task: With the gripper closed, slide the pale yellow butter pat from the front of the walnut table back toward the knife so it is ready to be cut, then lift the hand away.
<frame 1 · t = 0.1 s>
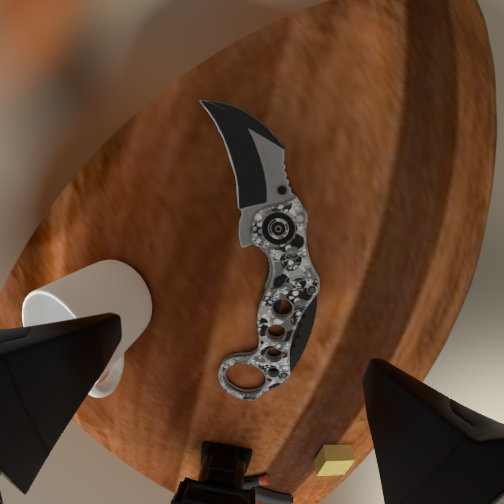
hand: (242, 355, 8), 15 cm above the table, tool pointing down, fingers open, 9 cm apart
knife: (259, 265, 23), on the table
butter: (332, 452, 27), on the table
mug: (122, 313, 25), on the table
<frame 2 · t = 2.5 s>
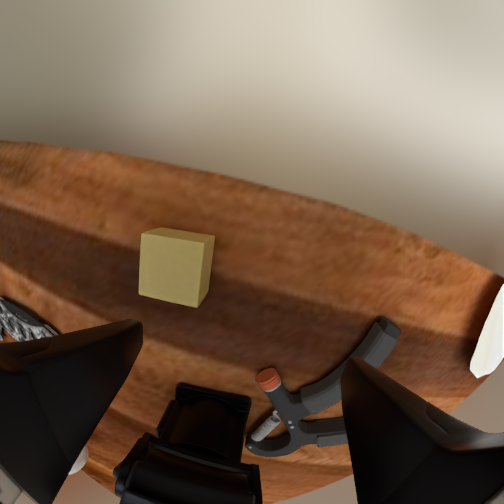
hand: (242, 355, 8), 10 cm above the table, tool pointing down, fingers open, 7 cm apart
knife: (11, 330, 22), on the table
butter: (183, 259, 18), on the table
hand grip strengthener: (406, 375, 18), point 1 cm above the table
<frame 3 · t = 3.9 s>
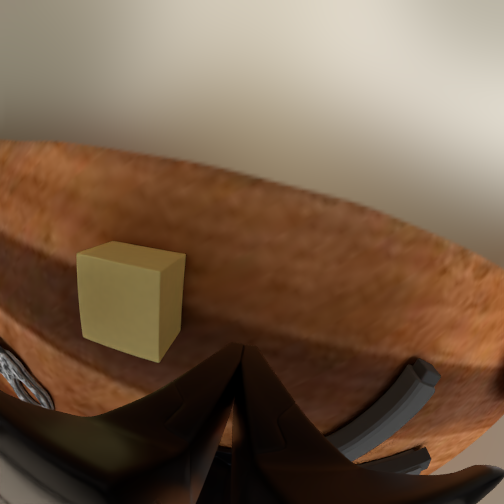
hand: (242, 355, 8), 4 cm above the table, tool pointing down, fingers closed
butter: (145, 286, 12), on the table
hand grip strengthener: (436, 421, 12), point 1 cm above the table
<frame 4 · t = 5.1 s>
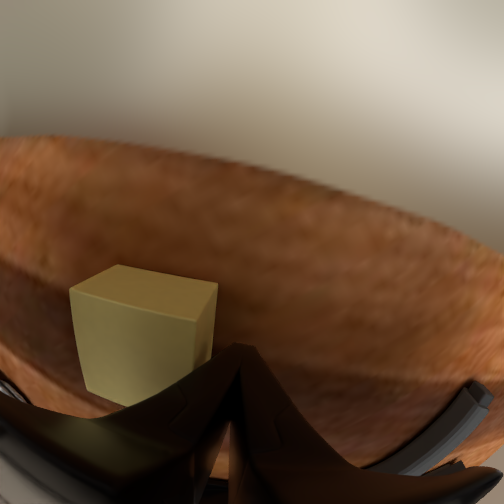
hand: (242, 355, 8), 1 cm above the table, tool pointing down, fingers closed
butter: (162, 322, 10), on the table, touching gripper
hand grip strengthener: (478, 436, 9), point 1 cm above the table
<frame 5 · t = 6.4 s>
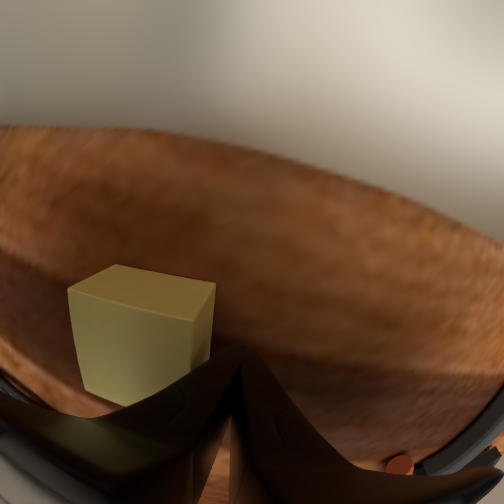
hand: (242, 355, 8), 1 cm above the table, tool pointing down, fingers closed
butter: (161, 322, 10), on the table, touching gripper
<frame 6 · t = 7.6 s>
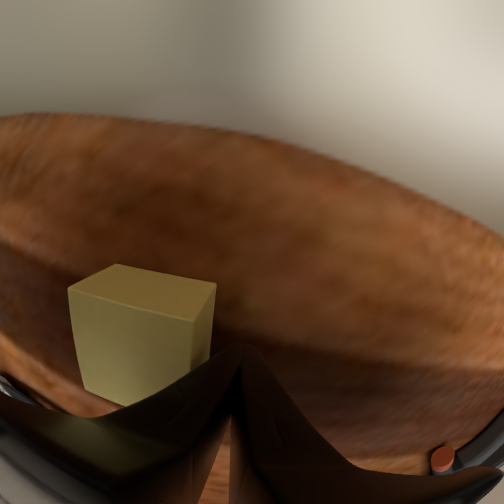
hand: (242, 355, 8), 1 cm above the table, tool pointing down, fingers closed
knife: (23, 412, 13), on the table
butter: (161, 322, 10), on the table, touching gripper
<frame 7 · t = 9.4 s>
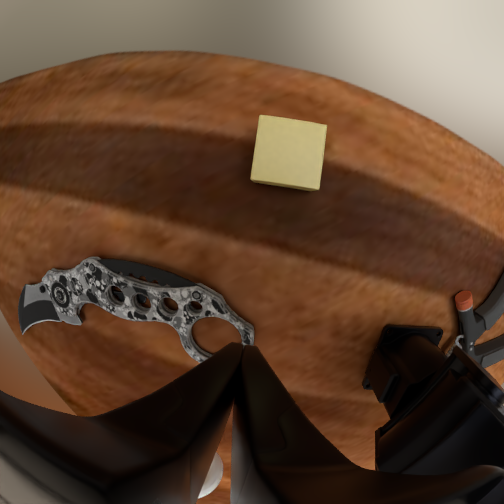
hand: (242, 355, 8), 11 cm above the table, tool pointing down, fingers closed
knife: (98, 308, 21), on the table
butter: (286, 158, 18), on the table
mug: (175, 427, 24), on the table
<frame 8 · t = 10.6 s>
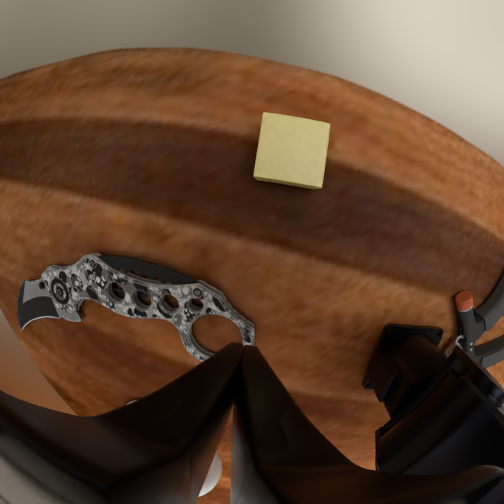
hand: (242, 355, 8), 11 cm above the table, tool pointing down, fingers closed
knife: (98, 304, 21), on the table
butter: (289, 156, 18), on the table
mug: (174, 425, 24), on the table
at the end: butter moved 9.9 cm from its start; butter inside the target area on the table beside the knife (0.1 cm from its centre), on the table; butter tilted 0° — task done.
